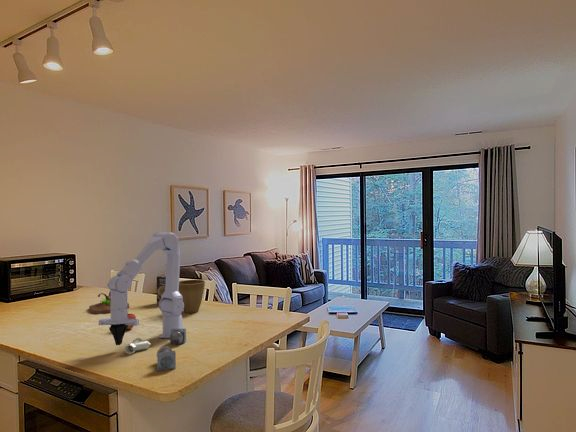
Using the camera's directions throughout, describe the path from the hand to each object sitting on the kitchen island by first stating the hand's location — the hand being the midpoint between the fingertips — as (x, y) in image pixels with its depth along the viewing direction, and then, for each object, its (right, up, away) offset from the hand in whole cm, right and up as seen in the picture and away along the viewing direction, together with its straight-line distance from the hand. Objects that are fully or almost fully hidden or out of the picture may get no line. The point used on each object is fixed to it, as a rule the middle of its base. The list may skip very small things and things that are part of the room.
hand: (118, 344), depth 139 cm
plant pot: (+11, -3, +60) cm, 61 cm away
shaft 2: (+19, -3, +9) cm, 21 cm away
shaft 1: (+22, -2, -14) cm, 26 cm away
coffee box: (-8, -4, +79) cm, 79 cm away
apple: (-9, -3, +28) cm, 29 cm away
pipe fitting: (+7, -3, +1) cm, 8 cm away
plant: (-35, -4, +66) cm, 75 cm away
